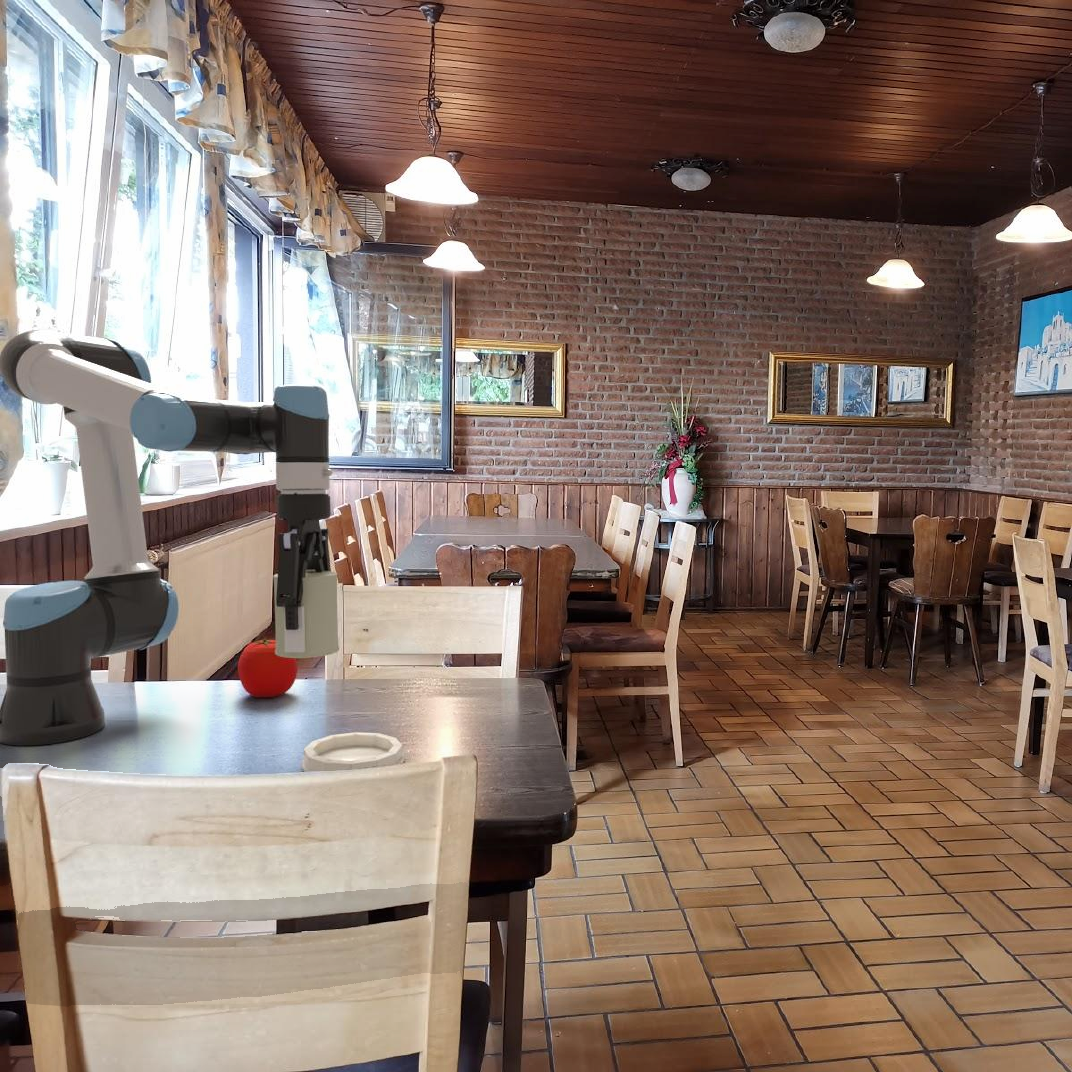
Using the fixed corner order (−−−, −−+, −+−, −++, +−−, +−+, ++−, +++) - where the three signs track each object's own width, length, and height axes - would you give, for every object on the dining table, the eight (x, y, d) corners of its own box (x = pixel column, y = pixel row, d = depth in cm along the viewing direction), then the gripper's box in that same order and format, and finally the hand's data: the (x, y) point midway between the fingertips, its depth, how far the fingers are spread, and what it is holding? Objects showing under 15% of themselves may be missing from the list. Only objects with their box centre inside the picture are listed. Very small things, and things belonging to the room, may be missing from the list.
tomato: (283, 685, 163) (283, 631, 162) (305, 697, 155) (305, 640, 154) (229, 694, 157) (228, 637, 156) (249, 706, 148) (248, 647, 148)
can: (344, 645, 128) (343, 567, 128) (332, 657, 119) (330, 574, 118) (284, 645, 128) (282, 567, 127) (267, 658, 119) (264, 574, 118)
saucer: (285, 779, 114) (285, 761, 114) (322, 745, 128) (322, 729, 128) (389, 784, 113) (389, 766, 113) (414, 749, 127) (414, 733, 127)
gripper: (300, 493, 111) (305, 661, 112) (351, 491, 132) (354, 632, 134) (246, 493, 112) (251, 660, 113) (305, 491, 133) (309, 631, 135)
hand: (307, 645), depth 124 cm, fingers closed on can, 9 cm apart
